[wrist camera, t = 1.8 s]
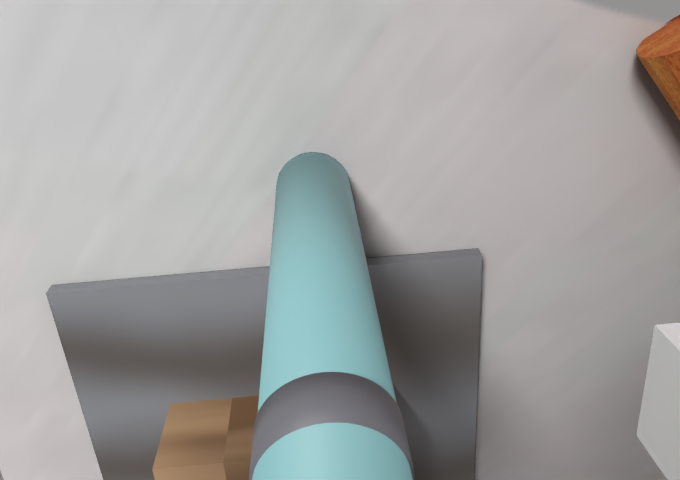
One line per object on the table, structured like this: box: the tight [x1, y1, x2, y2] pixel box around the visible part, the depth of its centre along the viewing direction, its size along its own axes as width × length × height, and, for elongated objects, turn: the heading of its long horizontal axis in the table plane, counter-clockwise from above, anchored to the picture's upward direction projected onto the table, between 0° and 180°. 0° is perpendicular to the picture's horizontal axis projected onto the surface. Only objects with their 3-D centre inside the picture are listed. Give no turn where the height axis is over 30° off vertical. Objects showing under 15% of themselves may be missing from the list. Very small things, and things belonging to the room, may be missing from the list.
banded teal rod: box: [249, 152, 415, 480], centre depth 16 cm, size 3×3×15 cm
